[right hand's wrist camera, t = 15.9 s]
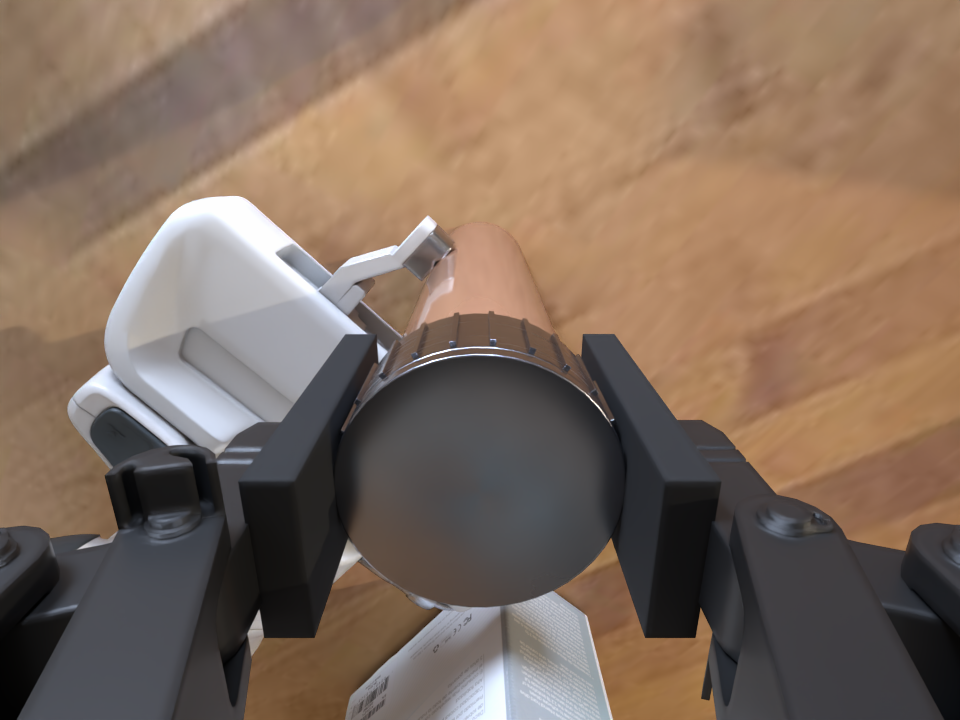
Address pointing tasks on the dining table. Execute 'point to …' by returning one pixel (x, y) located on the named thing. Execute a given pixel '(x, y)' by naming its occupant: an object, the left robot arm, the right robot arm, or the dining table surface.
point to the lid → (479, 463)
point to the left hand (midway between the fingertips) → (495, 281)
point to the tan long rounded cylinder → (480, 280)
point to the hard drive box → (492, 668)
